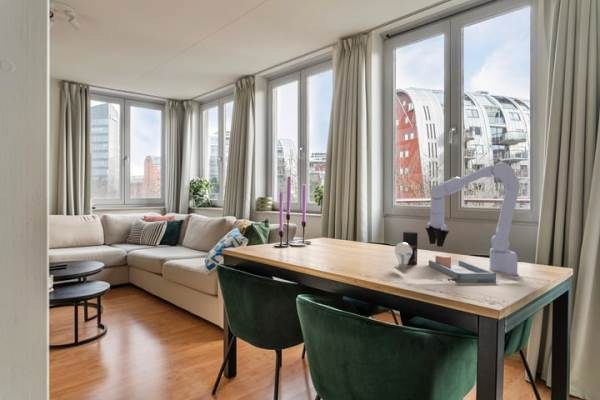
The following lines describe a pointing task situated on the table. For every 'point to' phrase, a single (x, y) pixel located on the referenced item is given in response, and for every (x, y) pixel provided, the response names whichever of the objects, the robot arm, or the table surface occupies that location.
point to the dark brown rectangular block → (412, 241)
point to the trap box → (466, 273)
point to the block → (443, 260)
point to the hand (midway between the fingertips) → (436, 245)
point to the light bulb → (403, 254)
